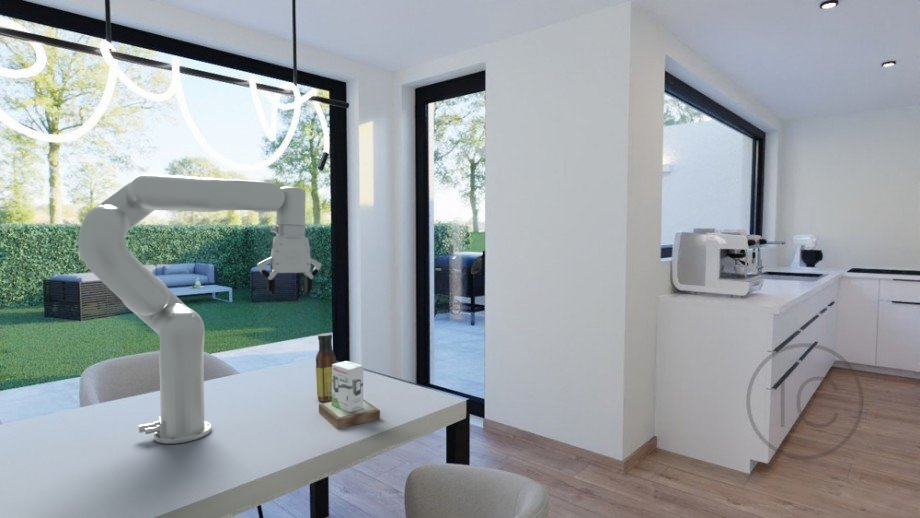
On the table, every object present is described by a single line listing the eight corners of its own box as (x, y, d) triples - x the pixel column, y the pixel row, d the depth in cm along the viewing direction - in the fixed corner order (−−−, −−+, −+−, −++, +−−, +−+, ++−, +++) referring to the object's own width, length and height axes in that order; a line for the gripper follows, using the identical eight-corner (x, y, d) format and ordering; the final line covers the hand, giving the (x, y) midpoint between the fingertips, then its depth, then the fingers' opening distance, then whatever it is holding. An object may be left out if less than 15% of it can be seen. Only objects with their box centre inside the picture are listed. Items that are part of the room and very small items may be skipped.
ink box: (330, 405, 139) (330, 363, 139) (345, 401, 143) (345, 360, 142) (349, 413, 134) (349, 369, 133) (364, 408, 137) (364, 365, 137)
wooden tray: (337, 428, 129) (337, 418, 129) (318, 412, 141) (318, 403, 141) (379, 419, 136) (379, 409, 136) (359, 404, 148) (359, 395, 148)
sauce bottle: (341, 396, 155) (340, 332, 154) (334, 403, 149) (333, 336, 148) (320, 395, 156) (320, 331, 155) (312, 402, 150) (312, 336, 149)
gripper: (260, 230, 132) (260, 296, 133) (325, 232, 141) (324, 293, 142) (254, 231, 138) (254, 293, 139) (317, 232, 148) (316, 291, 148)
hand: (289, 293), depth 140 cm, fingers open, 9 cm apart
